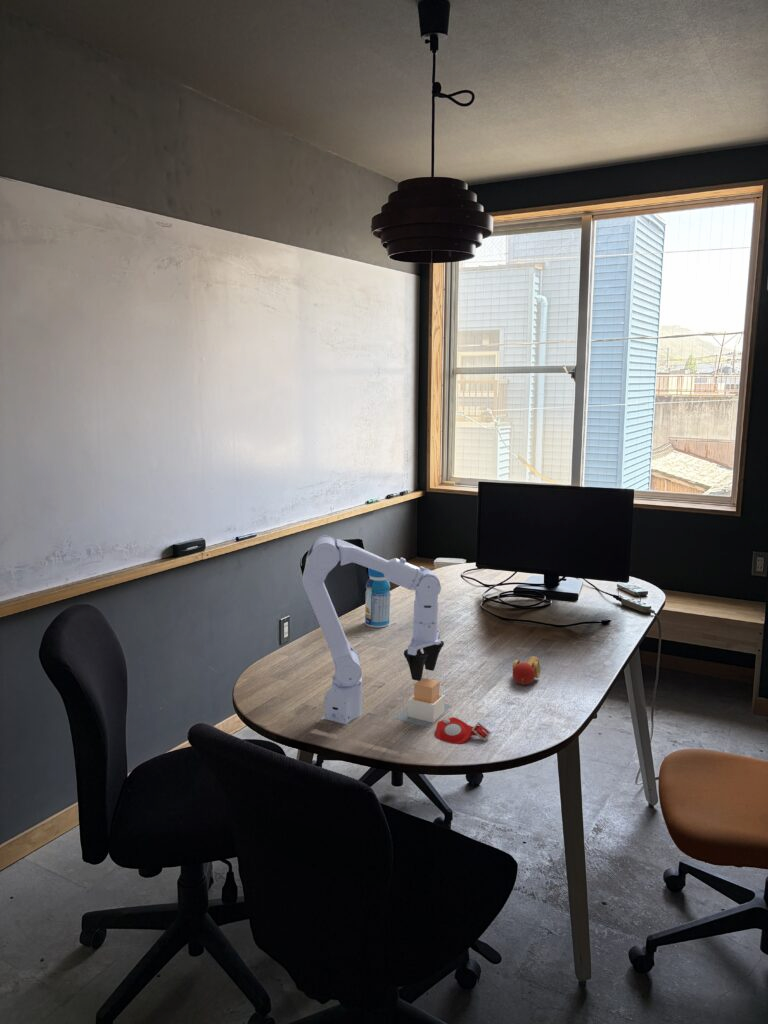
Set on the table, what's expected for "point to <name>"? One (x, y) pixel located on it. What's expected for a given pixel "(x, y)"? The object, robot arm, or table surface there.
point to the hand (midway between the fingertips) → (423, 674)
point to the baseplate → (404, 717)
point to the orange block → (426, 690)
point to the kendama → (526, 670)
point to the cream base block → (426, 709)
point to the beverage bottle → (377, 600)
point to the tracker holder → (459, 731)
